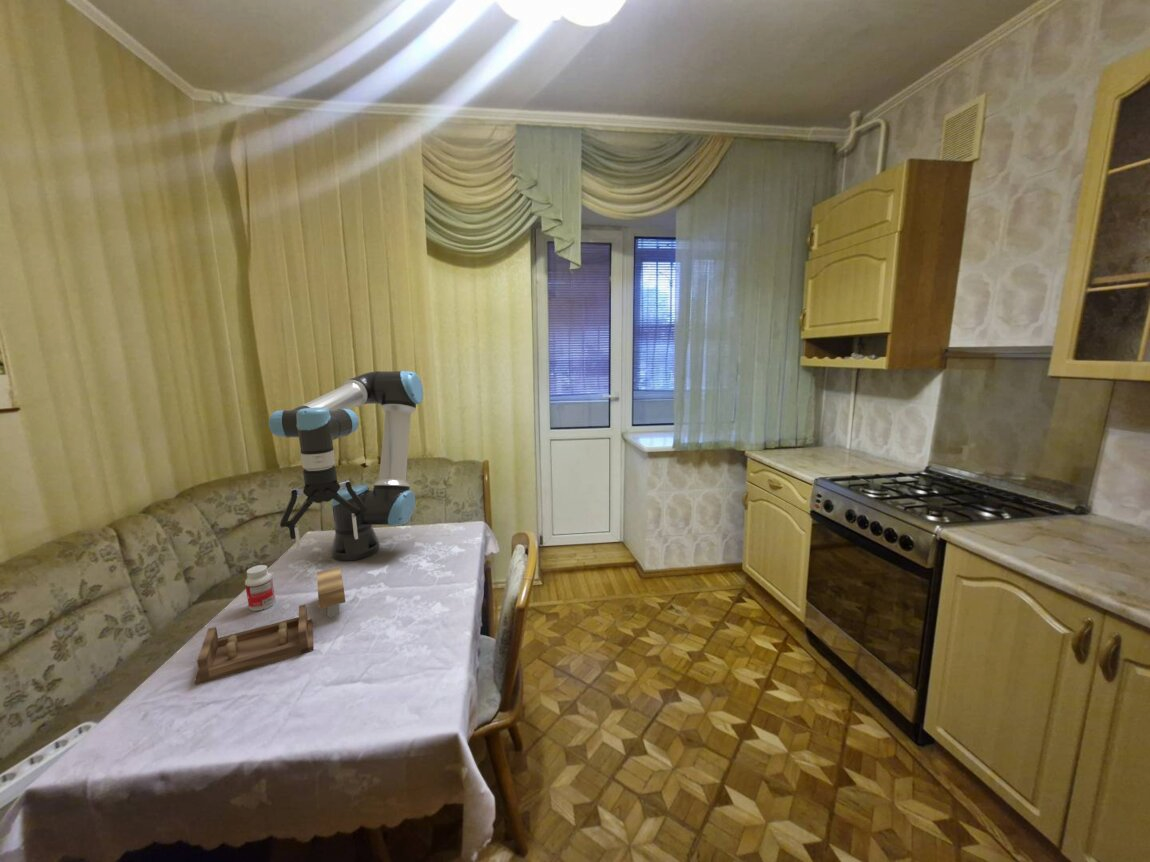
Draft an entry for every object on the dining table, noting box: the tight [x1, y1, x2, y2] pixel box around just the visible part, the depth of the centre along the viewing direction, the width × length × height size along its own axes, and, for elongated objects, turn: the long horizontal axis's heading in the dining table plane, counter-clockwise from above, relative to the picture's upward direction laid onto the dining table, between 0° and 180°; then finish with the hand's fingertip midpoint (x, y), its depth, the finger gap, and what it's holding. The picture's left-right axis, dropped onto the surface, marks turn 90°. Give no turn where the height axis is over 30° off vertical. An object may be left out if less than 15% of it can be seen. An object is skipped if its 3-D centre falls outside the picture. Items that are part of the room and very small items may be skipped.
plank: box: [316, 566, 346, 610], centre depth 126 cm, size 14×6×4 cm, turn 30°
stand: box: [326, 604, 341, 618], centre depth 126 cm, size 10×3×4 cm, turn 30°
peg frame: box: [194, 604, 314, 686], centre depth 108 cm, size 13×22×6 cm, turn 120°
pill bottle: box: [244, 564, 276, 612], centre depth 127 cm, size 6×6×11 cm
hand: (328, 543), depth 123 cm, fingers open, 13 cm apart
